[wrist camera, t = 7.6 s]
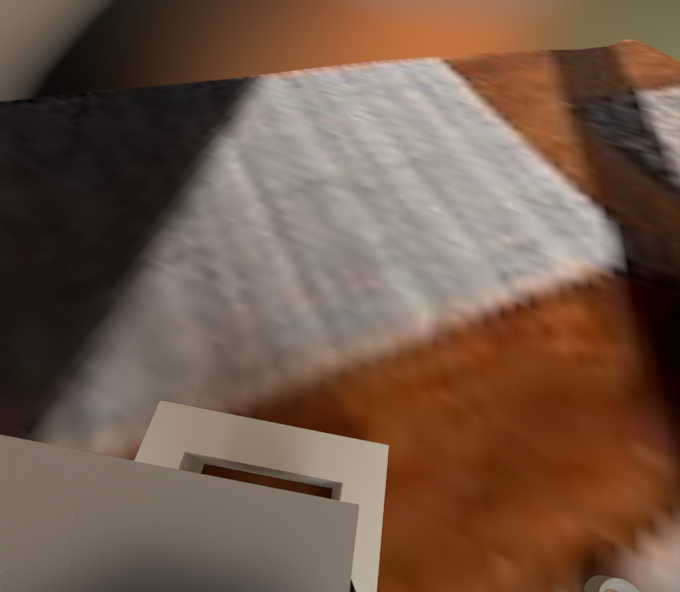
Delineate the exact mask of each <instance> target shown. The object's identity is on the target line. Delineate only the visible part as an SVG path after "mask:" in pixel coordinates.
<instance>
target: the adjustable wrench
mask: <svg viewBox="0 0 680 592" xmlns="http://www.w3.org/2000/svg"><path fill="white" fill-rule="evenodd" d="M606 589H613V590H615V591H617V592H640V591H639V590H638V589H637V588H636V587H634V586H633V585H632V584H631V583H629V582H627V581H625V580H623V579H620V578H614V577H609V576H601V575H596V576H594V577H591V578H590V579H589V580H588V581H587V582H586V584H585V587H584V590H583V592H604V591H605V590H606Z"/></svg>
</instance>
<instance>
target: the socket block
mask: <svg viewBox="0 0 680 592" xmlns="http://www.w3.org/2000/svg"><path fill="white" fill-rule="evenodd" d="M388 448H389V445H384V444H379V443H374V442H369V441H364V440H359V439H354V438H349V437H344V436H338V435H333V434H328V433H323V432H318V431H313V430H308V429H303V428H298V427H293V426H288V425H283V424H278V423H273V422H268V421H263V420H258V419H252V418H247V417H242V416H237V415H232V414H227V413H222V412H217V411H212V410H207V409H202V408H197V407H192V406H187V405H182V404H177V403H172V402H167V401H161V400H160V402H159V404H158V407H157V409H156V411H155V414H154V416H153V418H152V421H151V423H150V425H149V428H148V430H147V432H146V434H145V437H144V439H143V441H142V444H141V446H140V448H139V451H138V453H137V455H136V458H135V460H134V461H137V462H143V463H148V464H153V465H158V466H163V467H168V468H174V469H179V470H184V471H189V472H194V473H199V474H201V472H202V469H203V466H204V464H208V465H214V466H219V467H224V468H229V469H234V470H239V471H244V472H250V473H255V474H260V475H265V476H270V477H275V478H280V479H286V480H291V481H296V482H301V483H306V484H311V485H316V486H321V487H327V488H332V495H331V499H333V500H338V501H343V502H348V503H354V504H359V513H358V522H357V530H356V539H355V548H354V557H353V566H352V574H351V580H352V582H353V585H354V588H355V591H356V592H377V580H378V568H379V556H380V544H381V532H382V520H383V508H384V496H385V484H386V472H387V460H388Z"/></svg>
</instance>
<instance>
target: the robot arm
mask: <svg viewBox="0 0 680 592" xmlns="http://www.w3.org/2000/svg"><path fill="white" fill-rule="evenodd" d="M350 592H356V591H355V588H354V585H353V582H352V580H351V583H350Z"/></svg>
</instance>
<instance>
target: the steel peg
mask: <svg viewBox="0 0 680 592" xmlns="http://www.w3.org/2000/svg"><path fill="white" fill-rule="evenodd" d="M358 513H359V504H354V503H348V502H343V501H338V500H333V499H328V498H323V497H318V496H312V495H307V494H302V493H297V492H292V491H287V490H282V489H276V488H271V487H266V486H261V485H256V484H251V483H246V482H240V481H235V480H230V479H225V478H220V477H215V476H210V475H204V474H199V473H194V472H189V471H184V470H179V469H174V468H168V467H163V466H158V465H153V464H148V463H143V462H137V461H132V460H127V459H122V458H117V457H112V456H107V455H101V454H96V453H91V452H86V451H81V450H76V449H71V448H65V447H60V446H55V445H50V444H45V443H40V442H35V441H29V440H24V439H19V438H14V437H9V436H4V435H0V592H350V583H351V574H352V566H353V557H354V548H355V539H356V530H357V522H358Z"/></svg>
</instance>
